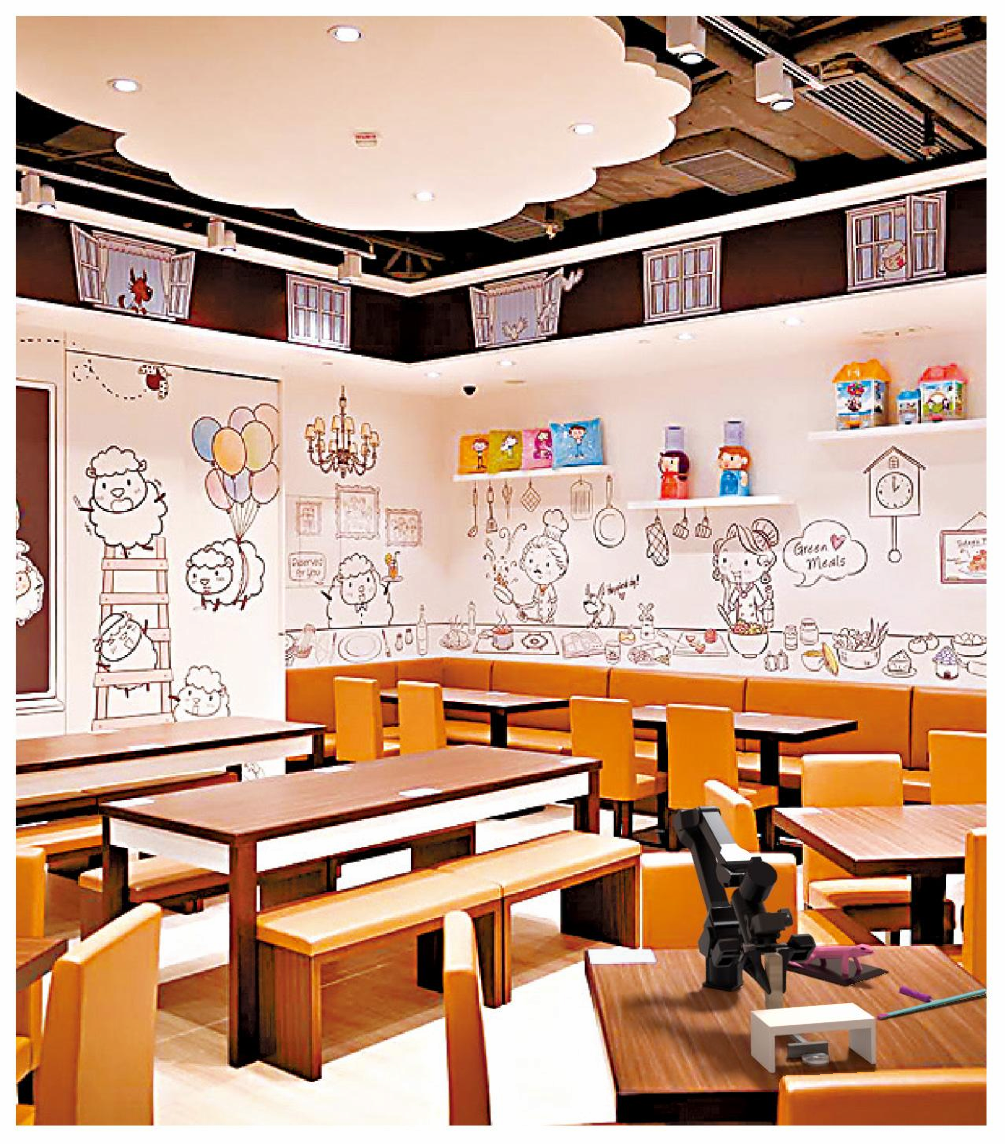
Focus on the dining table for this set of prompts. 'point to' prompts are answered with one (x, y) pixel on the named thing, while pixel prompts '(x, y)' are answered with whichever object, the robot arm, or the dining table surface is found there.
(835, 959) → the lizard figurine
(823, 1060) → the steel token
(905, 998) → the dining table surface
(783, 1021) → the white footstool bench
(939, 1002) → the squeegee
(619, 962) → the dining table surface
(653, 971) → the dining table surface
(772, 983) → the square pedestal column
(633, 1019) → the dining table surface
